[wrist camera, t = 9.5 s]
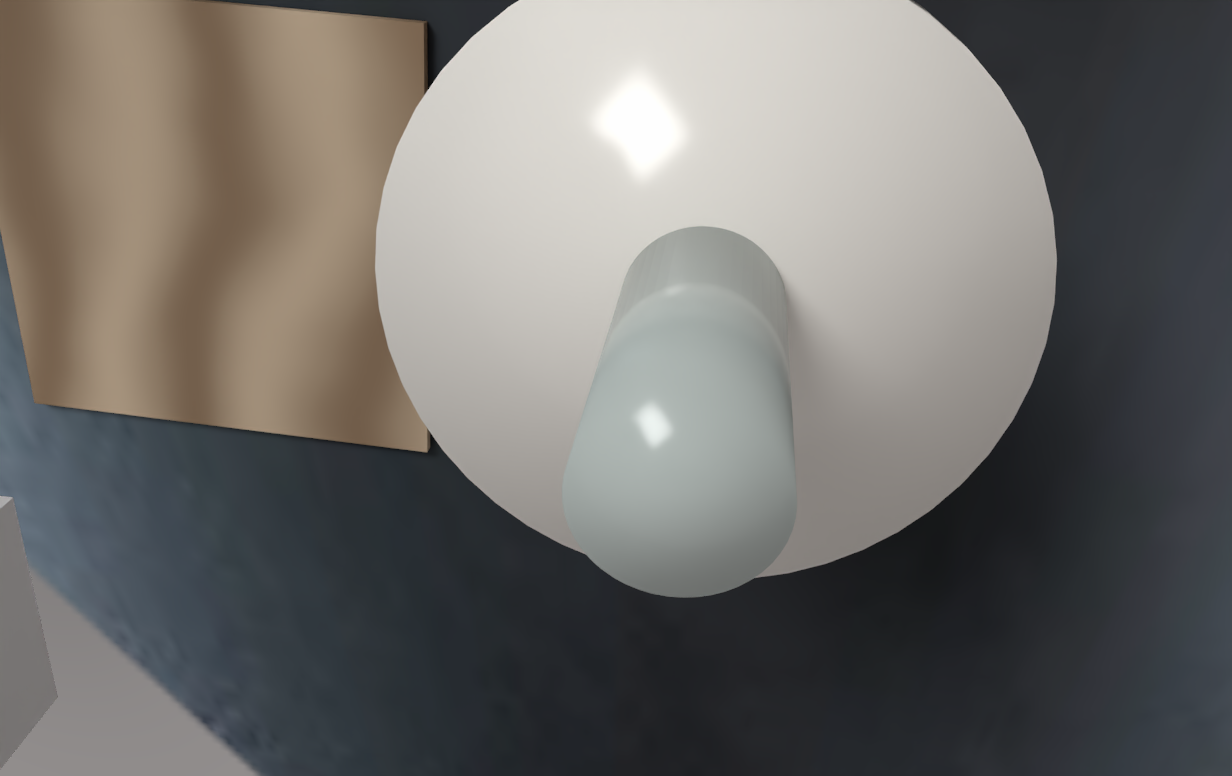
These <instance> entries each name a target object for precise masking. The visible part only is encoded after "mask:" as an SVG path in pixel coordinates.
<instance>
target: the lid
mask: <svg viewBox="0 0 1232 776" xmlns="http://www.w3.org/2000/svg"><path fill="white" fill-rule="evenodd" d="M1056 266H1057V255H1056V244H1055V233H1054V222H1053V213H1052V209H1051V205H1050V201H1049V197H1048V193H1047V189H1046V185H1045V181H1044V177H1043V173H1042V170H1041V167H1040V165H1039V162H1038V160H1037V157H1036V155H1035V153H1034V150H1033V148H1032V145H1031V143H1030V140H1029V138H1028V136H1027V133H1026V131H1025V128H1024V127H1023V125H1022V123H1021V122H1020V120H1019V118H1018V117H1017V115H1016V113H1015V112H1014V110H1013V108H1012V107H1011V105H1010V103H1009V102H1008V100H1007V98H1006V97H1005V95H1004V93H1003V92H1002V90H1001V88H1000V87H999V86H998V84H997V83H996V82H995V81H994V80H993V78H992V77H991V76H990V75H989V74H988V72H987V71H986V70H985V69H984V67H983V66H982V65H981V64H980V63H979V61H978V60H977V59H976V58H975V57H974V55H973V54H972V53H971V52H970V51H969V49H968V48H967V47H966V46H965V45H964V44H963V43H962V42H961V41H960V40H959V39H958V38H957V37H956V36H954V35H953V34H952V33H951V32H950V31H949V30H948V29H947V28H946V27H944V26H943V25H942V24H941V23H940V22H939V21H938V20H937V19H936V18H934V17H933V16H932V15H931V14H930V13H929V12H928V11H927V10H926V9H924V8H923V7H922V6H920V5H919V4H917V3H916V2H914V1H913V0H519V1H517V2H516V3H514V4H513V5H511V6H510V7H508V8H507V9H506V10H504V11H503V12H502V13H501V14H500V15H498V16H497V17H496V18H495V19H493V20H492V21H491V22H490V23H489V24H487V25H486V26H485V27H484V28H483V29H481V30H480V31H479V32H478V33H476V34H475V35H474V36H473V37H472V38H471V39H470V40H469V41H468V42H467V43H466V44H465V45H464V46H463V47H462V49H461V50H460V51H459V52H458V53H457V54H456V55H455V56H454V57H453V58H452V60H451V61H450V62H449V63H448V64H447V65H446V66H445V67H444V68H443V69H442V71H441V72H440V73H439V75H438V76H437V78H436V79H435V81H434V82H433V83H432V85H431V86H430V88H429V89H428V91H427V92H426V94H425V95H424V97H423V98H422V100H421V101H420V103H419V104H418V106H417V107H416V109H415V111H414V113H413V115H412V117H411V119H410V121H409V123H408V125H407V127H406V129H405V131H404V133H403V135H402V137H401V139H400V141H399V143H398V145H397V147H396V151H395V154H394V157H393V160H392V163H391V166H390V169H389V172H388V175H387V178H386V182H385V185H384V188H383V193H382V199H381V205H380V211H379V216H378V222H377V228H376V255H375V274H376V284H377V294H378V304H379V311H380V315H381V319H382V323H383V328H384V332H385V336H386V340H387V344H388V348H389V351H390V353H391V356H392V359H393V361H394V364H395V367H396V369H397V372H398V374H399V377H400V380H401V382H402V385H403V387H404V388H405V390H406V392H407V394H408V396H409V398H410V400H411V402H412V404H413V405H414V407H415V409H416V411H417V413H418V415H419V417H420V418H421V420H422V421H423V423H424V424H425V426H426V427H427V428H428V430H429V431H430V433H431V434H432V436H433V437H434V438H435V440H436V441H437V443H438V444H439V446H440V447H441V448H442V450H443V451H444V452H445V453H446V454H447V455H448V457H449V458H450V459H451V460H452V461H453V462H454V463H455V464H456V466H457V467H458V468H459V469H460V470H461V471H462V472H463V473H464V474H465V476H466V477H467V478H468V479H469V480H470V481H472V482H473V483H474V484H475V485H476V486H477V487H478V488H479V489H481V490H482V491H483V492H484V493H485V494H486V495H487V496H488V497H490V498H491V499H492V500H493V501H494V502H495V503H496V504H498V505H499V506H501V507H502V508H503V509H505V510H506V511H508V512H509V513H510V514H512V515H513V516H515V517H516V518H518V519H519V520H520V521H522V522H523V523H525V524H526V525H527V526H529V527H531V528H533V529H535V530H537V531H538V532H540V533H542V534H544V535H546V536H547V537H549V538H551V539H553V540H555V541H556V542H558V543H560V544H562V545H565V546H567V547H569V548H572V549H574V550H576V551H579V552H581V553H584V554H586V555H587V556H588V557H589V558H590V559H591V560H592V561H593V562H594V563H595V564H596V565H597V566H598V567H600V568H601V569H602V570H603V571H605V572H606V573H608V574H609V575H610V576H612V577H613V578H615V579H617V580H619V581H621V582H623V583H624V584H626V585H629V586H631V587H634V588H636V589H638V590H642V591H645V592H648V593H652V594H657V595H662V596H668V597H681V598H685V597H701V596H709V595H714V594H718V593H722V592H725V591H728V590H731V589H733V588H736V587H739V586H741V585H742V584H744V583H746V582H748V581H750V580H752V579H753V578H757V577H764V576H772V575H779V574H786V573H791V572H795V571H799V570H803V569H807V568H811V567H815V566H819V565H823V564H826V563H829V562H832V561H834V560H837V559H840V558H842V557H845V556H848V555H850V554H853V553H856V552H859V551H861V550H864V549H866V548H867V547H869V546H871V545H873V544H875V543H877V542H879V541H881V540H883V539H885V538H887V537H889V536H891V535H893V534H895V533H897V532H899V531H900V530H902V529H903V528H905V527H906V526H908V525H909V524H911V523H912V522H914V521H915V520H917V519H918V518H920V517H921V516H923V515H924V514H926V513H927V512H929V511H930V510H932V509H933V508H934V507H935V506H936V505H938V504H939V503H940V502H941V501H942V500H943V499H945V498H946V497H947V496H948V495H949V494H951V493H952V492H953V491H954V490H955V489H956V488H958V487H959V486H960V485H961V484H962V483H963V482H964V481H965V480H966V479H967V478H968V477H969V475H970V474H971V473H972V472H973V471H974V470H975V469H976V468H977V467H978V466H979V465H980V463H981V462H982V461H983V460H984V459H985V458H986V457H987V456H988V455H989V454H990V452H991V451H992V449H993V448H994V446H995V445H996V444H997V442H998V441H999V439H1000V438H1001V436H1002V435H1003V434H1004V432H1005V431H1006V429H1007V428H1008V426H1009V425H1010V424H1011V422H1012V421H1013V419H1014V417H1015V415H1016V413H1017V411H1018V409H1019V407H1020V405H1021V404H1022V402H1023V400H1024V398H1025V396H1026V394H1027V392H1028V390H1029V388H1030V386H1031V384H1032V382H1033V379H1034V376H1035V373H1036V371H1037V368H1038V365H1039V362H1040V359H1041V357H1042V354H1043V351H1044V348H1045V345H1046V341H1047V336H1048V332H1049V327H1050V322H1051V317H1052V312H1053V307H1054V301H1055V284H1056Z"/></svg>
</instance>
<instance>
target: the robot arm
mask: <svg viewBox="0 0 1232 776" xmlns="http://www.w3.org/2000/svg"><path fill="white" fill-rule="evenodd" d="M57 697H58V696H57V691H56V687H55V682H54V678H53V673H52V669H51V664H50V661H49V656H48V651H47V647H46V642H45V638H44V634H43V629H42V624H41V620H40V616H39V612H38V607H37V602H36V598H35V593H34V589H33V585H32V580H31V576H30V571H29V567H28V562H27V558H26V553H25V549H24V544H23V540H22V536H21V531H20V527H19V522H18V518H17V513H16V509H15V505H14V500H13V497H5V496H0V769H1V768H2V767H3V766H4V764H5V763H6V762H7V761H8V759H9V758H10V757H11V755H12V754H13V753H14V752H15V750H16V749H17V748H18V747H19V745H20V744H21V743H22V742H23V740H24V739H25V738H26V736H27V735H28V734H29V733H30V731H31V730H32V729H33V728H34V726H35V725H36V724H37V723H38V721H39V720H40V719H41V718H42V716H43V715H44V713H45V712H46V711H47V710H48V709H49V707H50V706H51V705H52V704H53V702H54V701H55V700H56V699H57Z"/></svg>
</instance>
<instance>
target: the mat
mask: <svg viewBox="0 0 1232 776" xmlns="http://www.w3.org/2000/svg"><path fill="white" fill-rule="evenodd" d="M427 91H428V70H427V21H418V20H407V19H397V18H386V17H376V16H366V15H355V14H345V13H334V12H324V11H314V10H303V9H293V8H283V7H272V6H262V5H251V4H241V3H231V2H220V1H210V0H0V230H1V235H2V240H3V245H4V250H5V255H6V261H7V266H8V271H9V276H10V281H11V286H12V291H13V296H14V301H15V306H16V311H17V316H18V321H19V326H20V331H21V337H22V342H23V347H24V352H25V357H26V362H27V367H28V372H29V377H30V382H31V387H32V392H33V397H34V402H35V403H38V404H46V405H54V406H62V407H70V408H78V409H86V410H94V411H102V412H110V413H118V414H126V415H134V416H141V417H149V418H157V419H165V420H173V421H181V422H189V423H197V424H205V425H213V426H221V427H229V428H237V429H245V430H253V431H261V432H269V433H277V434H285V435H293V436H301V437H309V438H317V439H325V440H333V441H341V442H349V443H356V444H364V445H372V446H380V447H388V448H396V449H404V450H412V451H420V452H428V450H429V448H430V431H429V430H428V428H427V427H426V426H425V424H424V423H423V421H422V420H421V418H420V417H419V415H418V413H417V411H416V409H415V407H414V405H413V404H412V402H411V400H410V398H409V396H408V394H407V392H406V390H405V388H404V387H403V385H402V382H401V380H400V377H399V374H398V372H397V369H396V367H395V364H394V361H393V359H392V356H391V353H390V351H389V348H388V344H387V340H386V336H385V332H384V328H383V323H382V319H381V315H380V311H379V304H378V294H377V284H376V274H375V255H376V228H377V222H378V216H379V211H380V205H381V199H382V193H383V188H384V185H385V182H386V178H387V175H388V172H389V169H390V166H391V163H392V160H393V157H394V154H395V151H396V147H397V145H398V143H399V141H400V139H401V137H402V135H403V133H404V131H405V129H406V127H407V125H408V123H409V121H410V119H411V117H412V115H413V113H414V111H415V109H416V107H417V106H418V104H419V103H420V101H421V100H422V98H423V97H424V95H425V94H426V92H427Z"/></svg>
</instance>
